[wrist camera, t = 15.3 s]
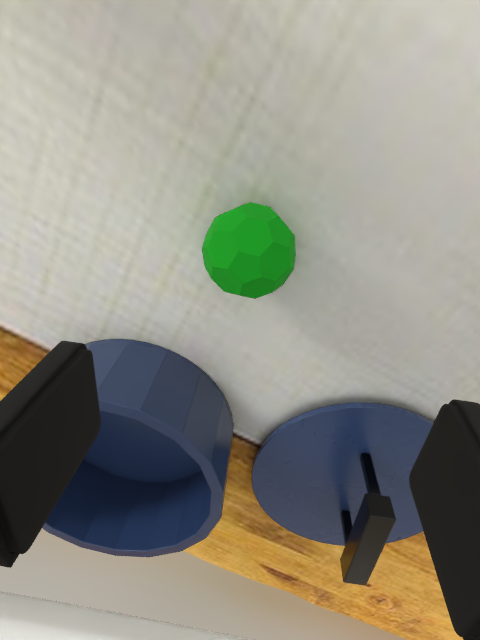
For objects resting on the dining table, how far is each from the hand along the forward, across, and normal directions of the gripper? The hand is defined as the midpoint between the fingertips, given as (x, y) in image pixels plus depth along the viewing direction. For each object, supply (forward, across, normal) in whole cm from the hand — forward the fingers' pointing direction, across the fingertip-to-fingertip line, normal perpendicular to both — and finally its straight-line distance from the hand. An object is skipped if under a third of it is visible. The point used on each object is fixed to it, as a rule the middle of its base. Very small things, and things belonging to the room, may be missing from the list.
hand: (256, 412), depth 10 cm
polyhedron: (+14, +2, 0) cm, 14 cm away
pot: (+14, +9, +16) cm, 23 cm away
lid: (+14, -9, +18) cm, 25 cm away
